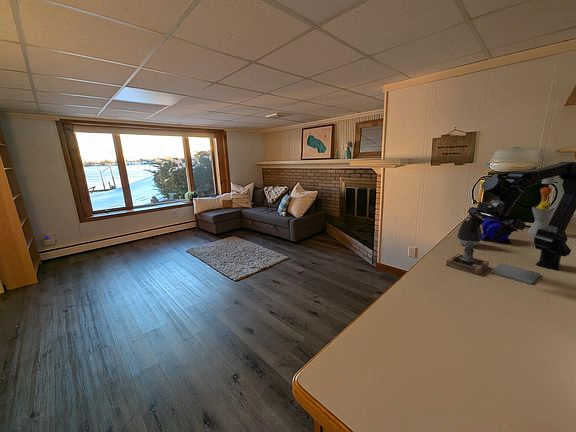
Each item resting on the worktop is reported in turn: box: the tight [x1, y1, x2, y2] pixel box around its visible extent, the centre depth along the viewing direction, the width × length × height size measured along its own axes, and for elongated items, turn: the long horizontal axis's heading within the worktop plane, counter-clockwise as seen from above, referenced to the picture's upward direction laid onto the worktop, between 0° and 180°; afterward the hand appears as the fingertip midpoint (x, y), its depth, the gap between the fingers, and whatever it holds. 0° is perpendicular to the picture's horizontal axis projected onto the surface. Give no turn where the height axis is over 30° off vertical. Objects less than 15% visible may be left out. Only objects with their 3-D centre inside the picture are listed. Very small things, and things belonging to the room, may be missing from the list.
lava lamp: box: [527, 177, 556, 236], centre depth 134 cm, size 9×9×35 cm
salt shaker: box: [459, 240, 477, 267], centre depth 101 cm, size 6×6×12 cm
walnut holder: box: [445, 253, 490, 276], centre depth 102 cm, size 11×11×2 cm
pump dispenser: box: [456, 216, 482, 247], centre depth 124 cm, size 10×10×15 cm
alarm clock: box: [481, 216, 512, 245], centre depth 129 cm, size 12×12×15 cm
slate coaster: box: [489, 262, 541, 286], centre depth 94 cm, size 12×12×1 cm
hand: (481, 236), depth 94 cm, fingers open, 9 cm apart
